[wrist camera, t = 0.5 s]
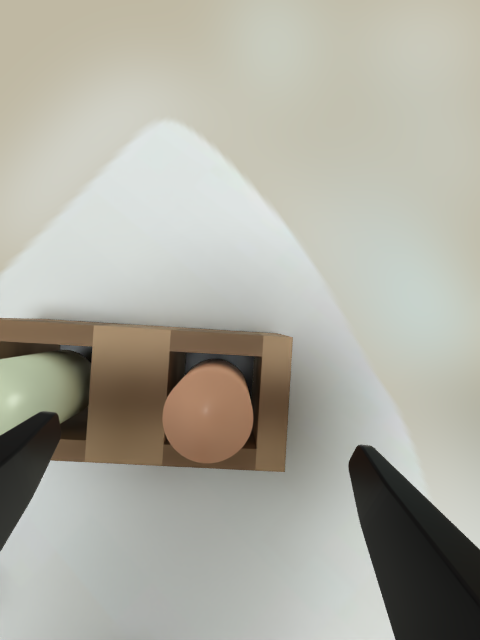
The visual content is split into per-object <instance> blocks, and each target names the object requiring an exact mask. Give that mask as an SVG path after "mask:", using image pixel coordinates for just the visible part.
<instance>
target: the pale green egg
mask: <svg viewBox="0 0 480 640" xmlns="http://www.w3.org/2000/svg"><path fill="white" fill-rule="evenodd" d="M90 376H91V363H90V362H89V361H88V360H87V359H86V358H85V357H84V356H82V355H81V354H79V353H77V352H74V351H71V350H55V351H49V352H43V353H36V354H30V355H24V356H17V357H11V358H5V359H0V435H2V434H3V433H5V432H7V431H8V430H10V429H12V428H13V427H15V426H17V425H19V424H20V423H22V422H24V421H25V420H27V419H29V418H30V417H32V416H34V415H35V414H37V413H39V412H41V411H48V412H56V413H57V414H58V416H59V421H60V424H61V423H62V422H64V421H66V420H68V419H69V418H71V417H73V416H74V415H76V414H78V413H80V412H81V411H83V410H84V409H85V408H86V407H87V406H88V405H89V391H90Z"/></svg>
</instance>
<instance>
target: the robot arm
mask: <svg viewBox="0 0 480 640" xmlns="http://www.w3.org/2000/svg"><path fill="white" fill-rule="evenodd" d="M60 438H61V427H60V421H59V416H58V414H57V413H56V412H48V411H41V412H39V413H37V414H35V415H34V416H32V417H30V418H29V419H27V420H25V421H24V422H22V423H20V424H19V425H17V426H15V427H13V428H12V429H10V430H8V431H7V432H5V433H3V434H2V435H0V551H1V550H2V548H3V546H4V545H5V543H6V541H7V540H8V538H9V536H10V534H11V533H12V531H13V529H14V528H15V526H16V524H17V523H18V521H19V519H20V518H21V516H22V514H23V513H24V511H25V509H26V508H27V506H28V504H29V502H30V501H31V499H32V497H33V495H34V493H35V491H36V489H37V487H38V485H39V483H40V481H41V479H42V477H43V475H44V473H45V471H46V468H47V466H48V464H49V462H50V460H51V458H52V456H53V454H54V452H55V449H56V447H57V445H58V443H59V441H60ZM349 473H350V478H351V483H352V487H353V492H354V497H355V502H356V507H357V512H358V516H359V520H360V524H361V528H362V531H363V535H364V538H365V541H366V544H367V548H368V551H369V554H370V558H371V561H372V564H373V567H374V571H375V574H376V577H377V581H378V584H379V587H380V590H381V594H382V597H383V600H384V603H385V607H386V610H387V613H388V617H389V620H390V623H391V626H392V630H393V633H394V636H395V640H480V549H479V548H478V547H476V546H475V545H474V544H473V543H472V542H471V541H470V540H469V539H468V538H467V537H466V536H465V535H464V534H463V533H462V532H461V531H460V530H459V529H458V528H457V527H456V526H455V525H454V524H453V523H451V521H449V520H448V519H447V518H446V517H445V516H444V515H443V514H442V513H441V512H440V511H439V510H438V509H437V508H436V507H435V506H434V505H433V504H432V503H431V502H430V501H429V500H428V499H427V498H426V497H425V496H423V495H422V494H421V493H420V492H419V491H418V490H417V489H416V488H415V487H414V486H413V485H412V484H411V483H410V482H409V481H408V480H407V479H406V478H405V477H404V476H403V475H402V474H401V473H400V472H399V471H397V470H396V469H395V468H394V467H393V466H392V465H391V464H390V463H389V462H388V461H387V460H386V459H385V458H384V457H383V456H382V455H381V454H380V453H379V452H378V451H377V450H376V449H375V448H373V447H372V446H368V445H358V446H357V447H356V449H355V451H354V453H353V455H352V457H351V459H350V461H349Z"/></svg>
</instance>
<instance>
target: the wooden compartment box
mask: <svg viewBox="0 0 480 640" xmlns="http://www.w3.org/2000/svg"><path fill="white" fill-rule="evenodd" d="M292 342H293V337H289V336H285V335H281V334H277V333H262V332H245V331H229V330H213V329H197V328H180V327H164V326H148V325H131V324H115V323H99V322H83V321H66V320H50V319H20V318H0V359H5V358H11V357H17V356H24V355H30V354H36V353H43V352H49V351H55V350H60V345H74V346H91V347H92V361H91V376H90V391H89V406H88V407H86V408H85V409H84V410H83V411H81V412H80V413H78V414H76V415H74V416H73V417H71V418H69V419H68V420H66V421H64V422H62V423H61V424H60V427H61V438H60V441H59V443H58V445H57V447H56V449H55V452H54V454H53V456H52V458H51V460H55V461H75V462H95V463H115V464H135V465H155V466H175V467H196V468H216V469H236V470H256V471H276V472H285V458H286V441H287V425H288V408H289V391H290V375H291V358H292ZM186 352H192V353H209V354H226V355H243V356H254V365H253V381H252V397H251V404H252V409H253V426H252V430H251V433H250V436H249V438H248V440H247V441H246V443H245V444H244V446H243V447H242V448H241V449H240V450H239V451H238V452H237V453H236V454H234V455H233V456H231V457H230V458H228V459H226V460H223V461H220V462H216V463H199V462H195V461H192V460H189V459H187V458H185V457H184V456H182V455H181V454H179V453H178V452H177V451H176V450H175V449H174V448H173V447H172V445H171V444H170V443H169V441H168V439H167V437H166V435H165V432H164V428H163V422H162V415H163V408H164V405H165V402H166V399H167V397H168V396H169V394H170V392H171V391H172V390H173V388H174V387H175V386H176V385H177V384H178V383H179V382H180V381H181V379H182V378H183V377H184V374H185V358H186Z"/></svg>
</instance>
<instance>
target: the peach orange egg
mask: <svg viewBox="0 0 480 640" xmlns="http://www.w3.org/2000/svg"><path fill="white" fill-rule="evenodd" d="M162 422H163V428H164V432H165V435H166V437H167V439H168V441H169V443H170V444H171V445H172V447H173V448H174V449H175V450H176V451H177V452H178V453H179V454H181V455H182V456H184V457H185V458H187V459H189V460H192V461H195V462H199V463H216V462H220V461H223V460H226V459H228V458H230V457H231V456H233V455H234V454H236V453H237V452H238V451H239V450H240V449H241V448H242V447H243V446H244V444H245V443H246V441H247V440H248V438H249V436H250V433H251V430H252V426H253V409H252V404H251V400H250V395H249V391H248V386H247V382H246V380H245V377H244V375H243V374H242V372H241V371H240V370H239V369H238V368H237V367H236V366H235V365H233V364H232V363H230V362H228V361H225V360H221V359H208V360H205V361H202V362H200V363H198V364H196V365H195V366H194V367H193V368H192V369H191V370H190V371H189V372H188V373H187V374H186V375H185V376H184V377H183V378H182V379H181V381H180V382H179V383H178V384H177V385H176V386H175V387H174V388H173V390H172V391H171V392H170V394H169V396H168V397H167V399H166V402H165V405H164V408H163V415H162Z"/></svg>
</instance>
